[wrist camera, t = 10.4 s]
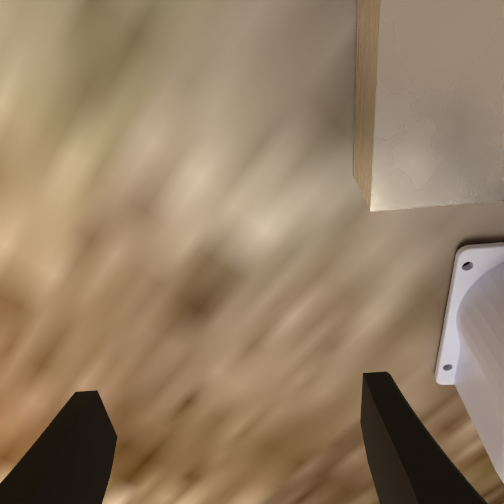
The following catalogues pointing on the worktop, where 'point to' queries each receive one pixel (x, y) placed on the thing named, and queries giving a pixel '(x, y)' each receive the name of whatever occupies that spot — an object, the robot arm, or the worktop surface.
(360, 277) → the worktop surface
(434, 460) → the robot arm
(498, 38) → the housing
